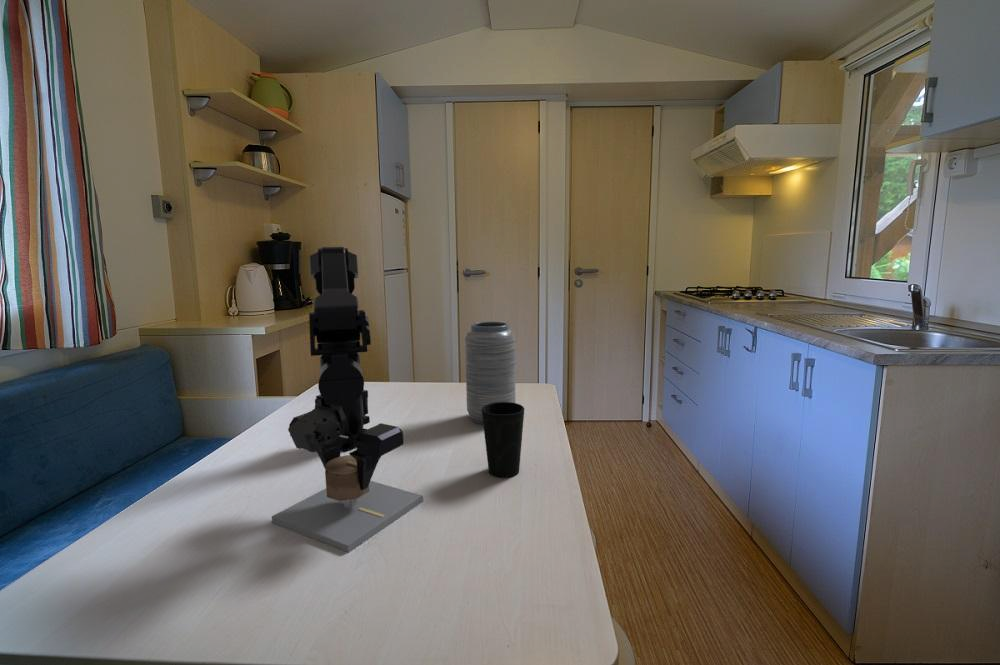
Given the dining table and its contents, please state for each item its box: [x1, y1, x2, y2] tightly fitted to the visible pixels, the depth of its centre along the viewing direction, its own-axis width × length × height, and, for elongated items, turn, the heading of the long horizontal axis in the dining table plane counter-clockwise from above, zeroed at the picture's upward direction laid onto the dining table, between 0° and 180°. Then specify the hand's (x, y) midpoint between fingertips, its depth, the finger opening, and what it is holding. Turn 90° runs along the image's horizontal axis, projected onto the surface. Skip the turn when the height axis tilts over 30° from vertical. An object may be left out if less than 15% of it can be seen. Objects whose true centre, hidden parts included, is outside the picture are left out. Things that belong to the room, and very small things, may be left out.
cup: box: [482, 402, 525, 479], centre depth 92 cm, size 8×8×12 cm
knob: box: [324, 454, 369, 501], centre depth 79 cm, size 6×6×5 cm
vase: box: [464, 321, 517, 425], centre depth 120 cm, size 12×12×23 cm
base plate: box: [271, 480, 424, 553], centre depth 79 cm, size 16×16×4 cm
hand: (348, 484), depth 79 cm, fingers closed on knob, 6 cm apart
